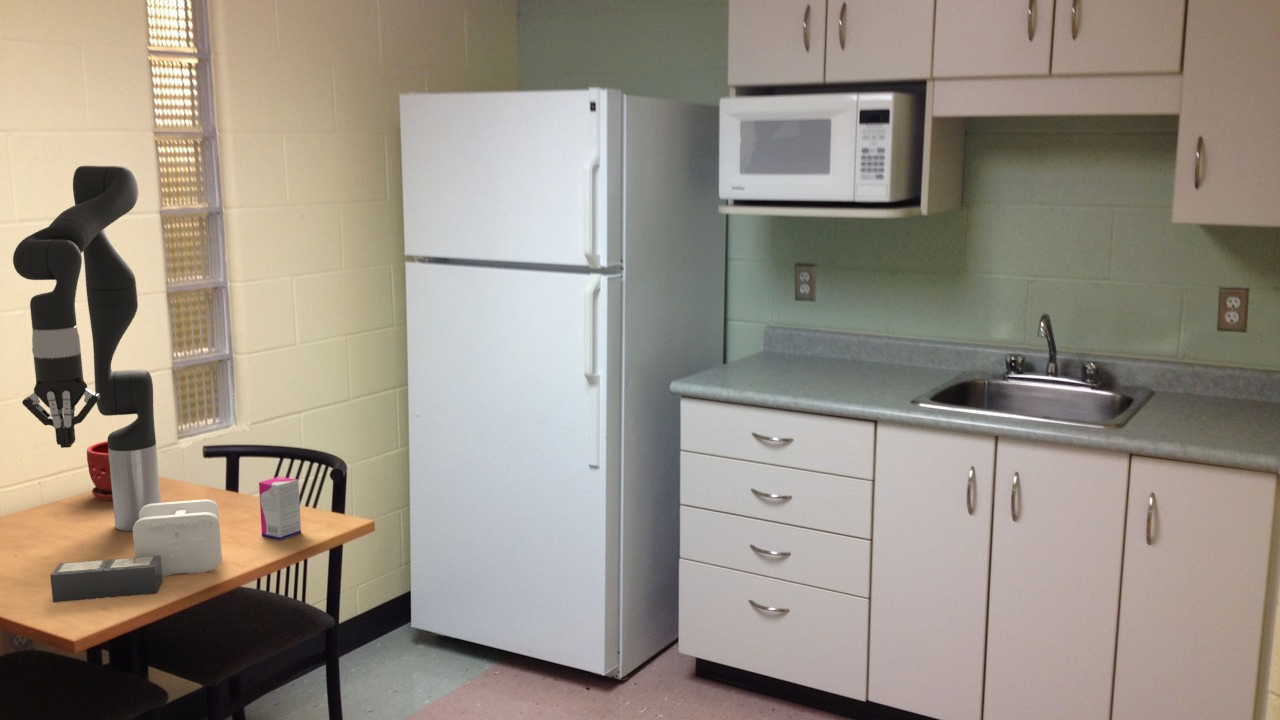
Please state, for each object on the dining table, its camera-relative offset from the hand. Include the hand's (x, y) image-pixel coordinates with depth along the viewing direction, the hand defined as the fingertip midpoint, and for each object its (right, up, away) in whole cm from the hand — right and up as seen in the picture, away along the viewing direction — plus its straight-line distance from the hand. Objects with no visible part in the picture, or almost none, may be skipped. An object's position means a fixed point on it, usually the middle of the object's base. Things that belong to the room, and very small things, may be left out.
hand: (66, 446), depth 206 cm
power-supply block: (+8, -26, -2) cm, 27 cm away
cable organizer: (+17, -24, +11) cm, 31 cm away
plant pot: (-16, -16, +58) cm, 62 cm away
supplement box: (+30, -21, +30) cm, 47 cm away
